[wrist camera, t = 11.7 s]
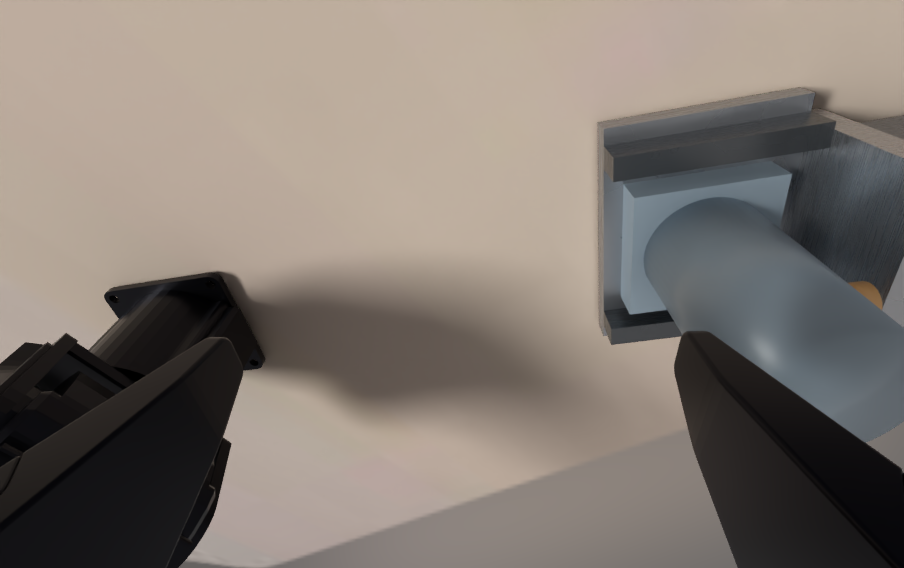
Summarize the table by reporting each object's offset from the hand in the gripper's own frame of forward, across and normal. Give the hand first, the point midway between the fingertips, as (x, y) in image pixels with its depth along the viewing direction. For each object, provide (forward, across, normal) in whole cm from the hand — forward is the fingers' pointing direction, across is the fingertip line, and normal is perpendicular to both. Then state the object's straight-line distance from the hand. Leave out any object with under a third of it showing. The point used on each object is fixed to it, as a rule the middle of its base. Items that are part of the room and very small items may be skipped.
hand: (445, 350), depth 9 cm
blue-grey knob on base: (+13, -10, +5) cm, 17 cm away
